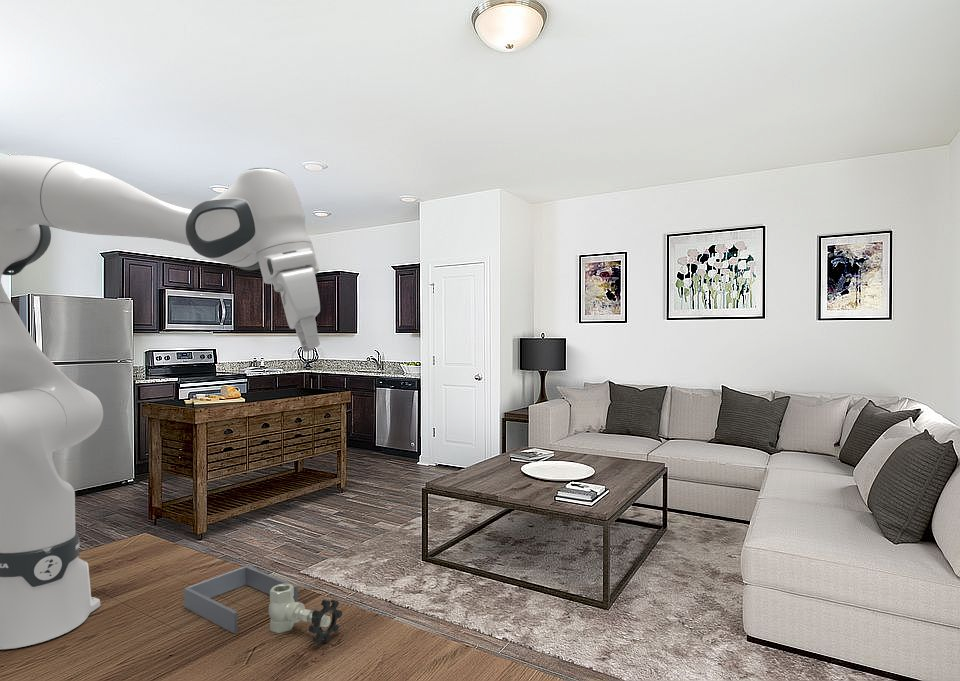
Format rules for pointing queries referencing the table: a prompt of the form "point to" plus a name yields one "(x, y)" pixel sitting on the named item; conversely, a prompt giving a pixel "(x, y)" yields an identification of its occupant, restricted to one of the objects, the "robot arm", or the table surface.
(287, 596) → the valve
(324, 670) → the table surface
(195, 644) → the table surface
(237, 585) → the valve dock
